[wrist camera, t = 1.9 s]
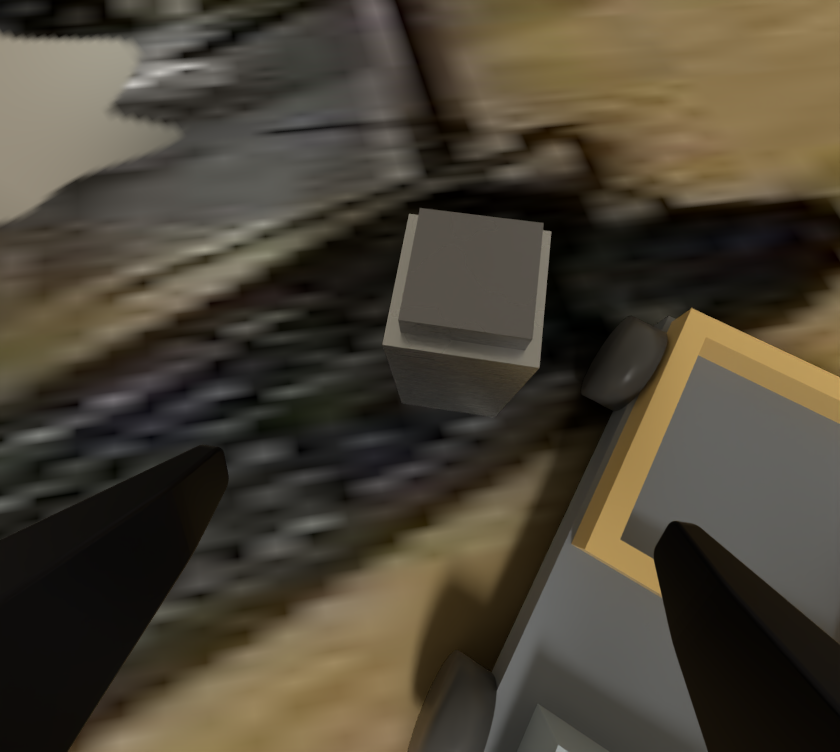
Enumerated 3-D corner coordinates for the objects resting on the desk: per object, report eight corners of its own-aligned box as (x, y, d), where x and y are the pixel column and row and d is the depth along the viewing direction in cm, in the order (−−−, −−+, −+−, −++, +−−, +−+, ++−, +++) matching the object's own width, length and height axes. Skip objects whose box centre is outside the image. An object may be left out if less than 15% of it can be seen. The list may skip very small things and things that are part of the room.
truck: (747, 1011, 15) (927, 1308, 9) (398, 752, 17) (383, 871, 12) (895, 464, 20) (1064, 455, 14) (610, 324, 22) (666, 273, 17)
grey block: (494, 417, 21) (548, 357, 11) (401, 403, 21) (378, 332, 12) (504, 331, 22) (560, 211, 13) (417, 318, 23) (407, 193, 13)
